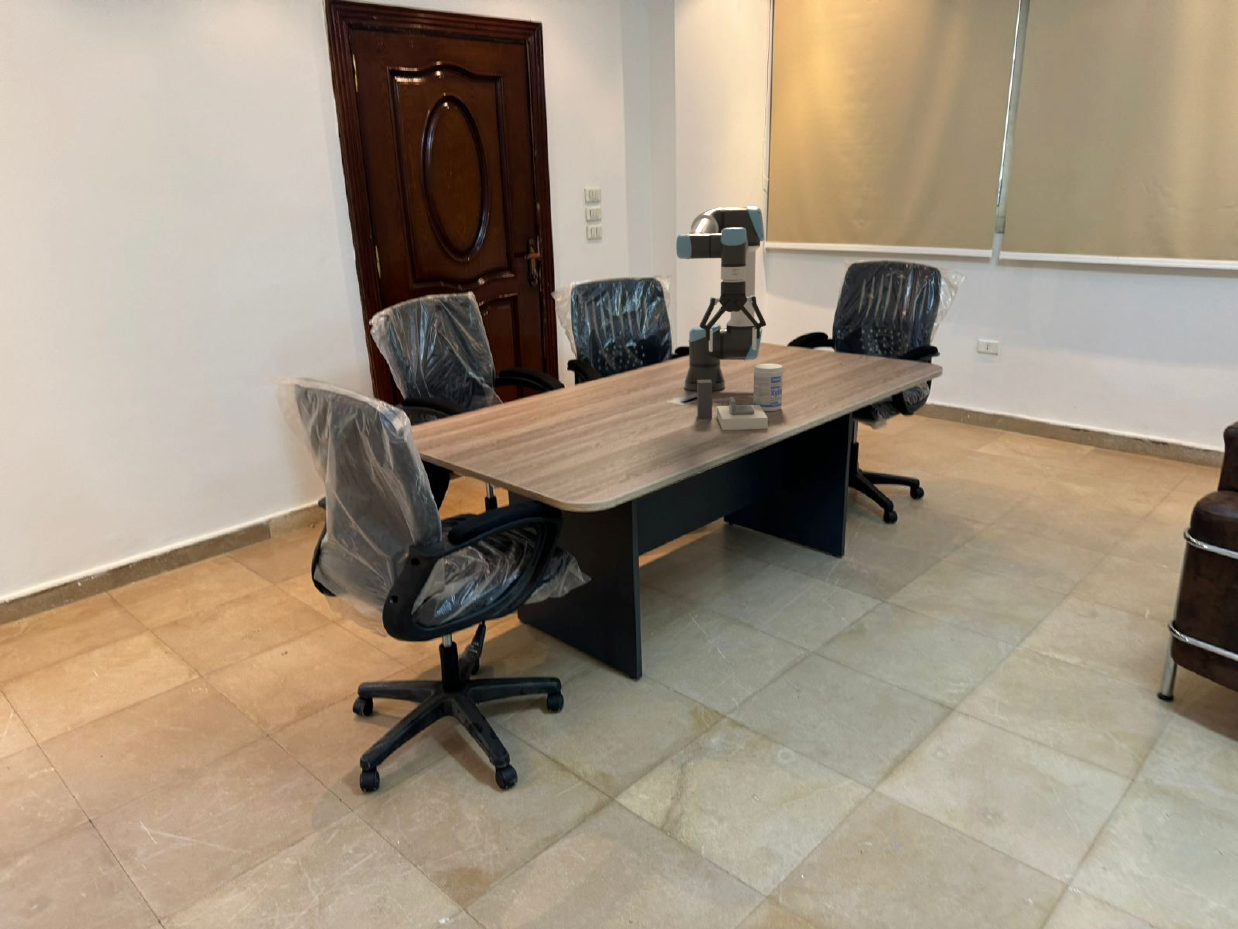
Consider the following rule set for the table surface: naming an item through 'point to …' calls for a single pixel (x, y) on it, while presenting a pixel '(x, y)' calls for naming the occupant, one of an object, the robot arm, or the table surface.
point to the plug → (704, 399)
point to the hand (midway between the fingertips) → (732, 350)
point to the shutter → (739, 408)
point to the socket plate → (742, 419)
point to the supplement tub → (768, 386)
